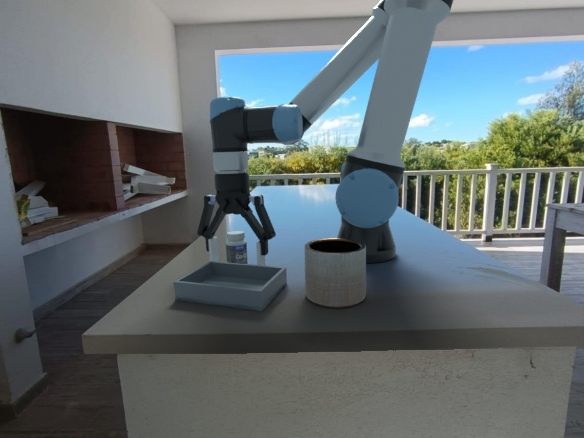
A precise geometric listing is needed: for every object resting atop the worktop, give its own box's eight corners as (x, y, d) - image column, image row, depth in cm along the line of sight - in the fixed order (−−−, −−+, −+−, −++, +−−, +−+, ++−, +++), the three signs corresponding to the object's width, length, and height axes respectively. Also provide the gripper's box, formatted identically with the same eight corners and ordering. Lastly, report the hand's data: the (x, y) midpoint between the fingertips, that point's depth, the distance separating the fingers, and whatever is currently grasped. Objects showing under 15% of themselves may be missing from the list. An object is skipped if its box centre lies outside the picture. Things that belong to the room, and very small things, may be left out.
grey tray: (286, 284, 67) (286, 267, 66) (262, 311, 55) (261, 291, 55) (211, 276, 72) (210, 261, 72) (175, 299, 61) (173, 281, 60)
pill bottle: (238, 272, 75) (236, 235, 73) (223, 269, 77) (220, 233, 76) (252, 266, 79) (250, 231, 77) (236, 263, 81) (234, 229, 80)
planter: (363, 312, 54) (364, 255, 52) (298, 306, 57) (297, 252, 55) (367, 287, 64) (368, 238, 62) (312, 282, 67) (311, 236, 65)
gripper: (288, 170, 73) (291, 265, 78) (195, 171, 81) (202, 258, 85) (275, 172, 67) (279, 276, 71) (175, 173, 74) (184, 267, 78)
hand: (237, 266), depth 78 cm, fingers open, 11 cm apart
